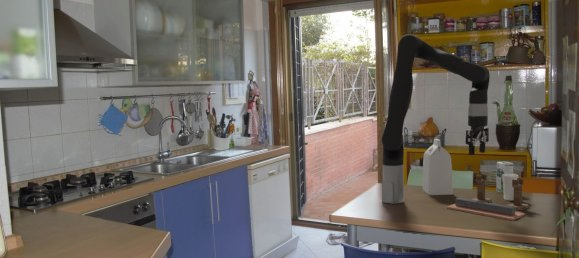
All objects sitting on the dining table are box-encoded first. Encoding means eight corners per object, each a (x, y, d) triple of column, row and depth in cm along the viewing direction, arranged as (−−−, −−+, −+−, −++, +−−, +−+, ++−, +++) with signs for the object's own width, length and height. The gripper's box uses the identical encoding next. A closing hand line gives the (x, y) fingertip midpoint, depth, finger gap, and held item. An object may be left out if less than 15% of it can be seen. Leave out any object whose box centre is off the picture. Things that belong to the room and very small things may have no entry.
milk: (453, 194, 228) (453, 140, 226) (429, 195, 228) (428, 141, 226) (445, 189, 240) (445, 137, 238) (422, 189, 240) (422, 138, 238)
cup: (502, 200, 214) (502, 176, 213) (501, 197, 220) (502, 173, 219) (518, 201, 211) (518, 176, 210) (517, 197, 217) (517, 174, 216)
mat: (513, 220, 182) (513, 218, 182) (446, 208, 203) (446, 206, 203) (524, 215, 188) (524, 213, 188) (459, 204, 209) (459, 202, 209)
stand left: (483, 204, 208) (483, 176, 207) (470, 202, 212) (470, 175, 211) (491, 201, 212) (491, 174, 211) (478, 199, 217) (478, 172, 216)
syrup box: (495, 191, 232) (495, 161, 231) (507, 190, 232) (507, 161, 231) (501, 193, 226) (502, 163, 225) (513, 193, 227) (514, 162, 225)
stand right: (521, 210, 196) (521, 181, 195) (506, 208, 200) (506, 179, 199) (528, 207, 200) (528, 178, 199) (514, 205, 205) (514, 177, 204)
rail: (511, 215, 186) (512, 208, 185) (455, 205, 204) (455, 198, 203) (515, 214, 187) (515, 206, 187) (459, 204, 206) (459, 197, 205)
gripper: (478, 113, 203) (477, 151, 205) (460, 115, 194) (459, 154, 196) (495, 114, 197) (494, 152, 199) (477, 115, 188) (476, 156, 190)
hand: (477, 153), depth 197 cm, fingers open, 8 cm apart
